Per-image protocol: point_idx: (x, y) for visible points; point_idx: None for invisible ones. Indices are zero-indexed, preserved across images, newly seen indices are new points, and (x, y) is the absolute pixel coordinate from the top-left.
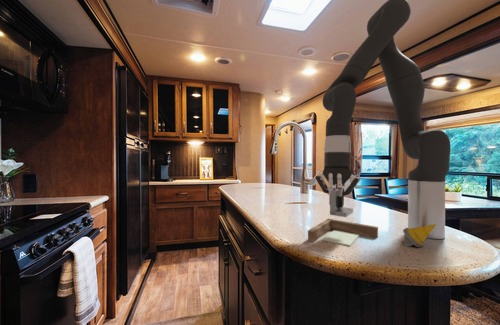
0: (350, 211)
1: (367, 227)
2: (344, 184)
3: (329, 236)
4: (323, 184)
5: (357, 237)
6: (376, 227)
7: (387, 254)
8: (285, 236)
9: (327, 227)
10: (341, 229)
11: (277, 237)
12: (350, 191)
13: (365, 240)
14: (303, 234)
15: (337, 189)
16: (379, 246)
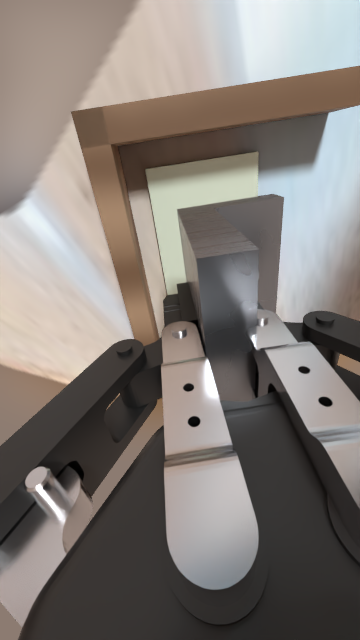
0: (275, 264)
1: (308, 112)
2: (324, 376)
3: (174, 276)
4: (118, 457)
5: (256, 193)
6: (357, 93)
7: (349, 277)
8: (75, 360)
9: (130, 215)
10: (168, 137)
11: (69, 380)
12: (353, 382)
13: (286, 196)
14: (94, 309)
15: (224, 347)
16: (332, 225)
